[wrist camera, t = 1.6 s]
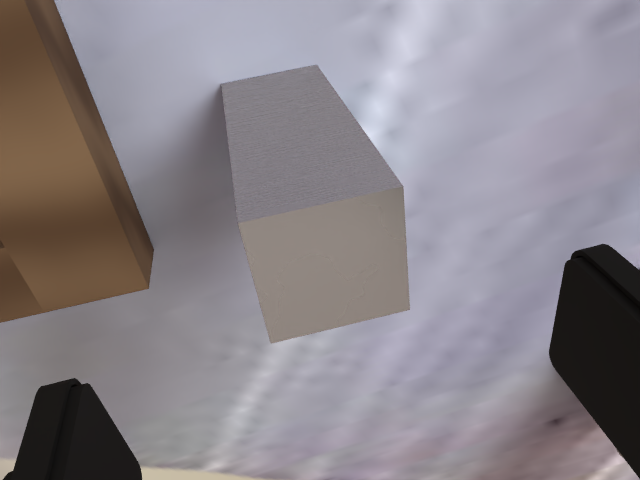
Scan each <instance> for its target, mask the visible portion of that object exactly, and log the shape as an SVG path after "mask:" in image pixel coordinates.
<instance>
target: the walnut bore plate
mask: <svg viewBox="0 0 640 480" xmlns="http://www.w3.org/2000/svg"><path fill="white" fill-rule="evenodd" d="M153 252H154V249H153V246H152V244H151V241H150V239H149V236H148V234H147V231H146V229H145V226H144V224H143V221H142V219H141V216H140V214H139V211H138V209H137V206H136V204H135V201H134V199H133V196H132V194H131V191H130V189H129V186H128V184H127V181H126V179H125V176H124V174H123V171H122V169H121V166H120V164H119V161H118V159H117V157H116V154H115V152H114V149H113V147H112V144H111V142H110V139H109V137H108V134H107V132H106V129H105V127H104V124H103V122H102V119H101V117H100V114H99V112H98V109H97V107H96V104H95V102H94V99H93V97H92V94H91V92H90V89H89V87H88V84H87V82H86V79H85V77H84V74H83V72H82V69H81V67H80V64H79V62H78V59H77V57H76V54H75V52H74V49H73V47H72V44H71V42H70V39H69V37H68V34H67V32H66V29H65V27H64V24H63V22H62V19H61V17H60V14H59V12H58V10H57V7H56V5H55V2H54V0H0V323H1V322H5V321H10V320H14V319H18V318H23V317H27V316H31V315H36V314H40V313H44V312H49V311H53V310H58V309H62V308H66V307H71V306H75V305H79V304H84V303H88V302H92V301H97V300H101V299H105V298H110V297H114V296H119V295H123V294H127V293H132V292H136V291H140V290H145V289H149V283H150V275H151V267H152V260H153Z"/></svg>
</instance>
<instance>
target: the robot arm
mask: <svg viewBox="0 0 640 480" xmlns="http://www.w3.org/2000/svg"><path fill="white" fill-rule="evenodd" d="M549 356H550V360H551V362H552V365H553V366H554V368H555V369H556V371H557V372H558V373H559V375H560V376H561V377H562V379H563V380H564V381H565V382H566V384H567V385H568V386H569V388H570V389H571V390H572V391H573V393H574V394H575V395H576V397H577V398H578V399H579V401H580V402H581V403H582V404H583V406H584V407H585V408H586V410H587V411H588V412H589V414H590V415H591V416H592V417H593V419H594V420H595V421H596V423H597V424H598V425H599V426H600V428H601V429H602V430H603V432H604V433H605V434H606V436H607V437H608V438H609V439H610V441H611V442H612V443H613V445H614V446H615V447H616V449H617V452H618V453H619V454H620V456H622V457H623V458H624V459H625V460H626V461H627V463H628V464H629V465H630V467H631V468H632V469H633V471H634V472H635V473H636V474H637V476H638V477H639V478H640V271H639V270H638V269H637V268H636V267H635V266H633V265H632V264H631V263H630V262H629V261H627V260H626V259H625V258H624V257H623V256H621V255H620V254H619V253H618V252H617V251H616V250H614V249H613V248H612V247H610V246H609V245H606V244H601V245H597V246H593V247H589V248H585V249H581V250H578V251H575V252H574V253H573V254H572V256H571V259H570V260H568V261H567V262H566V263H565V267H564V272H563V278H562V283H561V288H560V294H559V299H558V305H557V310H556V316H555V321H554V327H553V332H552V338H551V343H550V349H549ZM3 480H142V473H141V468H140V465H139V463H138V461H137V459H136V458H135V456H134V455H133V453H132V451H131V450H130V448H129V446H128V445H127V443H126V442H125V440H124V438H123V437H122V435H121V434H120V432H119V430H118V429H117V427H116V425H115V424H114V422H113V421H112V419H111V417H110V416H109V414H108V412H107V411H106V409H105V408H104V406H103V404H102V403H101V401H100V399H99V398H98V396H97V395H96V393H95V391H94V390H93V388H92V387H91V385H90V384H88V383H86V384H82V385H81V383H80V382H79V381H78V380H77V379H75V378H73V379H69V380H65V381H61V382H57V383H53V384H49V385H45V386H41V387H40V388H39V389H38V391H37V393H36V396H35V399H34V403H33V406H32V409H31V413H30V416H29V419H28V423H27V426H26V430H25V433H24V436H23V440H22V443H21V446H20V450H19V453H18V456H17V460H16V463H15V467H14V470H13V471H12V472H9V473H8V474H7V475H6V476H5V478H4V479H3Z"/></svg>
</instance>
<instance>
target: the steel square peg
mask: <svg viewBox="0 0 640 480" xmlns="http://www.w3.org/2000/svg"><path fill="white" fill-rule="evenodd" d="M221 86H222V94H223V103H224V111H225V120H226V128H227V137H228V145H229V154H230V162H231V171H232V179H233V188H234V196H235V205H236V213H237V221H238V226H239V230H240V233H241V237H242V241H243V244H244V248H245V251H246V255H247V259H248V262H249V266H250V270H251V273H252V277H253V280H254V284H255V288H256V291H257V295H258V299H259V302H260V306H261V309H262V313H263V317H264V320H265V324H266V328H267V331H268V335H269V338H270V342H271V343H275V342H279V341H283V340H287V339H291V338H296V337H300V336H304V335H308V334H312V333H316V332H320V331H324V330H328V329H333V328H337V327H341V326H345V325H349V324H353V323H357V322H361V321H365V320H370V319H374V318H378V317H382V316H386V315H390V314H394V313H398V312H402V311H407V310H410V304H409V285H408V266H407V247H406V228H405V209H404V190H403V185H402V184H401V182H400V181H399V180H398V178H397V177H396V175H395V174H394V173H393V171H392V170H391V168H390V167H389V165H388V164H387V163H386V161H385V160H384V158H383V157H382V156H381V154H380V153H379V151H378V150H377V149H376V147H375V146H374V144H373V143H372V142H371V140H370V139H369V137H368V136H367V135H366V133H365V132H364V130H363V129H362V128H361V126H360V125H359V123H358V122H357V120H356V119H355V118H354V116H353V115H352V113H351V112H350V111H349V109H348V108H347V106H346V105H345V104H344V102H343V101H342V99H341V98H340V97H339V95H338V94H337V92H336V91H335V90H334V88H333V87H332V85H331V84H330V83H329V81H328V80H327V78H326V77H325V75H324V74H323V73H322V71H321V70H320V68H319V67H318V66H317V65H313V66H308V67H303V68H298V69H293V70H288V71H283V72H278V73H273V74H268V75H263V76H258V77H253V78H248V79H243V80H238V81H233V82H228V83H223V84H221Z"/></svg>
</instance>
